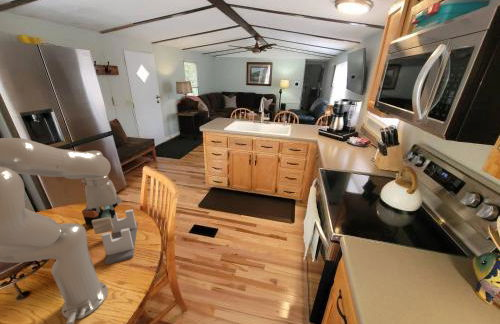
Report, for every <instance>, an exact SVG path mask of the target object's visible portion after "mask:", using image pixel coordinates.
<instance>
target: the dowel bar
mask: <svg viewBox="0 0 500 324" xmlns="http://www.w3.org/2000/svg"><path fill="white" fill-rule="evenodd" d="M118 206H120V204H118V205H117V206H116V207H118ZM92 225H93V226H92V227H93V230H94V233H95V235H99V234H103V233H107V232H113V229H114V228H113V224H112V221H111V217H110V206H104V207H103V213H102V216H101V219H96V220H92Z"/></svg>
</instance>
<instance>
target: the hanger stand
mask: <svg viewBox="0 0 500 324" xmlns="http://www.w3.org/2000/svg"><path fill="white" fill-rule="evenodd" d="M115 213H116V214H115V215H114V218H111V221H112V224H113V228H114V229H113V230H112V231H108V232H104V233H101V235H100V237H101V240H102V244H103V247H104V251H105V254H106V258H105V262H104V263H105V265H110V264H113V263H118V262H121V261H125V260H129V259H132V258H134V254H135V246H136V240H137V239H136V237H137V233H138V232H137V231H138V222H137V221H136V218H135V214H134V209H133V208H132V209H127V210H125V216H126V217H122V218H119V217H118V213H117V212H116V211H115ZM110 217H111V214H110ZM111 232H113V234H112V233H111Z"/></svg>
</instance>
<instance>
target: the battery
mask: <svg viewBox="0 0 500 324" xmlns="http://www.w3.org/2000/svg"><path fill="white" fill-rule="evenodd" d="M81 213H82V216H83V218H84V221H85V225H86V226H91V227H93V225H92V220H96V219H101V218H100V217H99V214H98V213H97V212H96V211H94V210H92V209H86V207H85V208H84V209H83V210H81Z"/></svg>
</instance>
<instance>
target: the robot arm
mask: <svg viewBox="0 0 500 324" xmlns="http://www.w3.org/2000/svg"><path fill="white" fill-rule="evenodd" d="M111 168H112V167H111V162H110V161H109V160H108V158H106V157H105V156H104V155H103V153H102V152H101V151H100V150H87V151H78V150H73V149H72V150H70V149H64V148H63V149H62V148H57V147H54V146H51V145H47V144H44V143H40V142H37V141H34V140H30V139H27V138H26V139H25V138H21V137H20V138H19V137H1V138H0V262H1V263H15V264H17V263H20V264H21V263H27V262H28V263H29V262H34V261H35V262H36V261H43V260H55V261H54V262H53V264H52V266H51V275H52V277H53V279H54V282H55V284H56V286H57V287H58V290H59V292H60V294H61V297H62V299H63V301H64V302H63V305H62V307H61V314H62V316H63V317H64V318H65V319H66V320H67V321H66V322H65V324H74V323H75V321H76V320H78V319H83V318H84V317H86V316H88V315H90V314H92V313H93V312H94V311H96V310H97V309H98V308H99V307H100V306H101V305H102V304H103V302H105V300H106V299H107V296H108V293H109V289H108V286H107V285H106V283H104V282H102V281H101V282H100V280H99V277H98V274H97V272H96V269H95V266H94V264H93V261H92V257H91V255H90V251H89V247H88V234H87V230H86V228H85V226H83V225H82V224H80V223H71V222H69V223H60V224H59V223H58V222H57V220H55V219H53V218H51V217H49V216H46V215H43V214H42V213H41V214H40V213H38V212H36V211H33V210H30V209H29V208H26V203H25V202H26V201H25V200H26V199H25V184H24V180H23V179H22V177H21V175H31V176H39V177H40V176H41V177H46V178H47V177H48V178H49V177H50V178H51V177H52V178H56V177H57V178H59V177H61V178H63V177H64V178H65V179H68V180H69V179H70V180H80V179H81V183H82V184H86V185H85V186H84V192H85V197H86V206H85V208H86V209H92V210H94V211H96V212H97V213H98V214H99V217H100V218H101V216H102V213H103V210H104V206H110V214H111V218H114V215H115V214H116V213H115V212H116V210H115V208H117V207H118V206H117V205H118V204H119V205H120V204H121V203H122V202H123V199H122V198H121V197H120V196H119V195H118V193H117V190H116V187H115V185H114V183H113V181H112V180H111V179H110V178H109V173H110V171H111ZM102 207H103V208H102Z"/></svg>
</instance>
